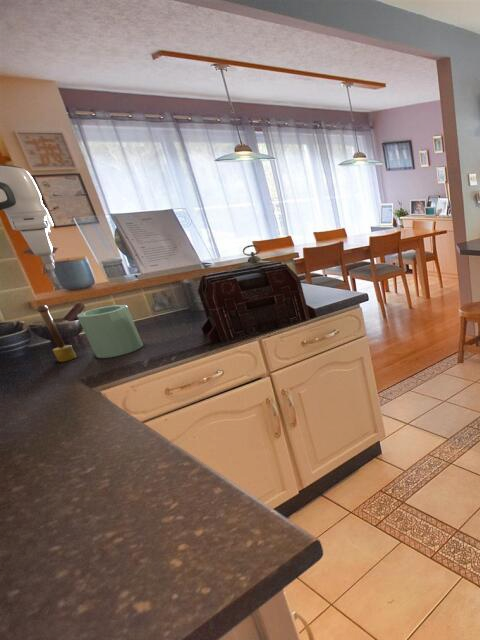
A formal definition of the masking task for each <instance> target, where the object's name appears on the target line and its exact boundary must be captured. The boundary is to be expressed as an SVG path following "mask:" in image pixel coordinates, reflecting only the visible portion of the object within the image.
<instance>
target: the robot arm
mask: <svg viewBox="0 0 480 640" xmlns="http://www.w3.org/2000/svg"><path fill="white" fill-rule="evenodd" d="M0 211H3V212H4V214H5V215H6V218H7V220H8V222H9V224H10V226H11V229H12V230H13V231H16V232H20V235H21V236H22V237H23V239H24V240H25V242H26V244H27V245H28V247H29V248H30V251H31V252H32V253H33V254H34V255H35V256H36V257H40V259H41V261H42V263H43V264H44V266H45V269H46V270H48V271H51V270H55V268H56V267H55V266H56V262H55V260H54V256H53V250H54V248H53V247H54V246H53V245H52V242H51V241H50V238H49V236H48V234H49V233H51V230H50V228H53V227H54V226H55V225H54V223H53V220H52V217H51V215H50V213H49V210H48V209H47V207H45V205H44V203H43V200H42V194H41V192H40V190H39V188H38V185H37V183H36V182H35V180H34V178H33V176H32V175H31V174H30V172H28V170H26V169H25V168H23V167H21V166H18V165H17V166H16V165H12V164H4V163H3V164H0Z"/></svg>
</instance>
